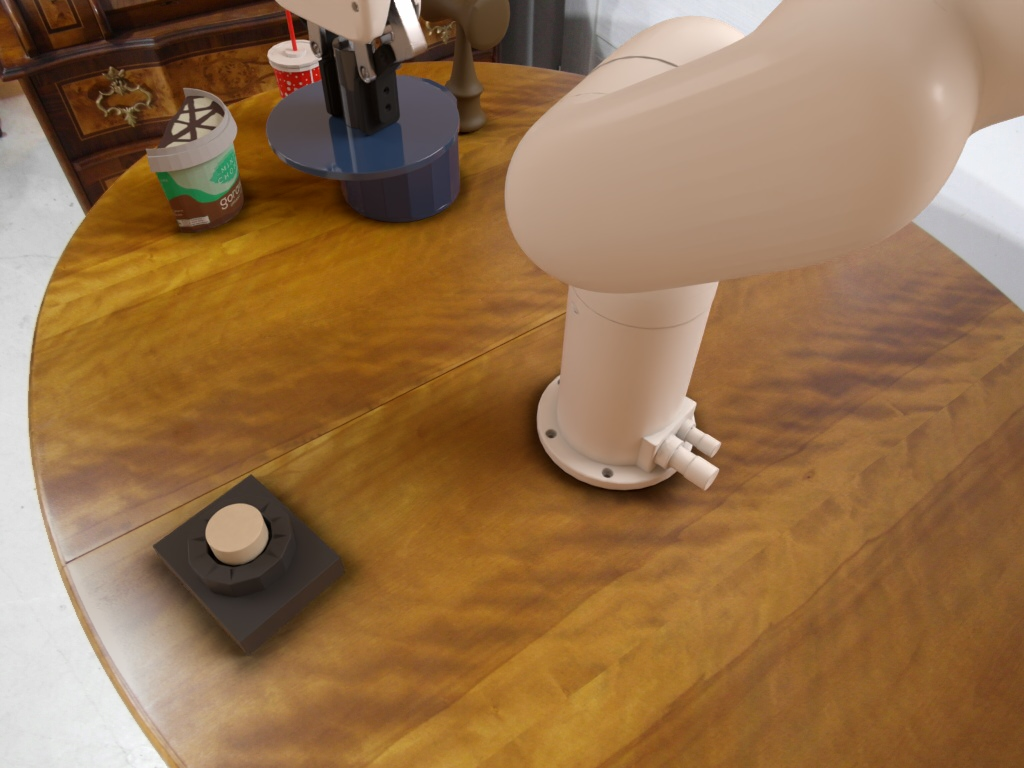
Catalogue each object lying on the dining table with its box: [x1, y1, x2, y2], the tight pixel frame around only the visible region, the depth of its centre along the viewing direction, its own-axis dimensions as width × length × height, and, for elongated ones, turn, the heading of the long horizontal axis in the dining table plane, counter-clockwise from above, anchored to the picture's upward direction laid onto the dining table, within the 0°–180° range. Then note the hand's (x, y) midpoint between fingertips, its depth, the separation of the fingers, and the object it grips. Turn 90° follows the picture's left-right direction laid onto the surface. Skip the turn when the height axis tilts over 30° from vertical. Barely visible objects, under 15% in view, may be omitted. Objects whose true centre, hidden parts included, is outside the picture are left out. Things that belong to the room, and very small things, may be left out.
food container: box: [145, 87, 245, 233], centre depth 77 cm, size 12×6×10 cm, turn 179°
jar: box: [339, 74, 461, 223], centre depth 80 cm, size 13×13×10 cm
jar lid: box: [265, 36, 460, 181], centre depth 53 cm, size 14×14×7 cm
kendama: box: [420, 0, 511, 133], centre depth 85 cm, size 6×10×20 cm, turn 44°
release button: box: [206, 504, 269, 565], centre depth 50 cm, size 4×4×2 cm
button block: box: [152, 474, 346, 657], centre depth 52 cm, size 10×8×4 cm
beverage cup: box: [267, 8, 322, 100], centre depth 87 cm, size 6×6×14 cm
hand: (363, 115), depth 55 cm, fingers closed on jar lid, 2 cm apart
